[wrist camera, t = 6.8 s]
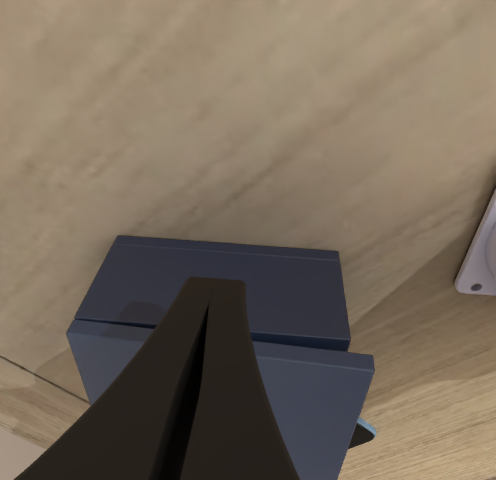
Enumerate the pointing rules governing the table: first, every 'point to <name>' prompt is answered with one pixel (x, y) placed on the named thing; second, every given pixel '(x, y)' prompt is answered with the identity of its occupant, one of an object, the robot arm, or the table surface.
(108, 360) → the lid
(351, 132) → the table surface
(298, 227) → the table surface
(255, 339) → the box
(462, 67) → the table surface
